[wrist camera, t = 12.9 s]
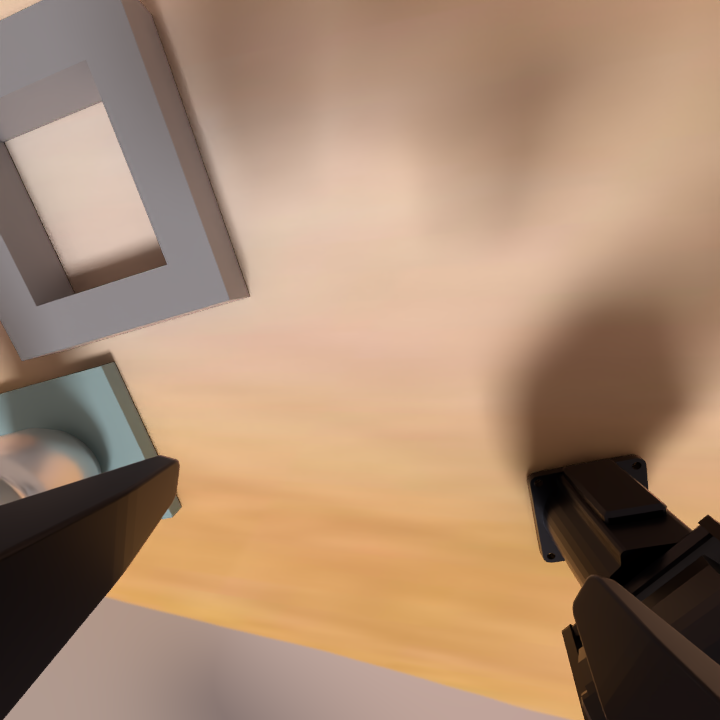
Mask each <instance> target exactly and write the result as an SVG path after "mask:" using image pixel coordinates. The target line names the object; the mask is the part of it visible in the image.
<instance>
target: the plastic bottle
mask: <svg viewBox="0 0 720 720" xmlns="http://www.w3.org/2000/svg"><path fill="white" fill-rule="evenodd" d="M98 474H101V468H100V465H99V462H98V460H97V458H96V457H95V455H94V454H93V452H92V451H91V450H90V449H89V448H88V446H87V445H85V444H84V443H83V442H82V441H81V440H79V439H78V438H76V437H75V436H73V435H71V434H68V433H66V432H63V431H59V430H52V429H41V428H31V429H25V430H21V431H17V432H13V433H10V434H6V435H2V436H0V505H3V504H6V503H9V502H12V501H16V500H19V499H22V498H25V497H28V496H31V495H35V494H38V493H41V492H44V491H47V490H50V489H54V488H57V487H60V486H63V485H66V484H69V483H73V482H76V481H79V480H82V479H85V478H88V477H92V476H95V475H98Z"/></svg>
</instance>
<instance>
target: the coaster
mask: <svg viewBox="0 0 720 720" xmlns="http://www.w3.org/2000/svg"><path fill="white" fill-rule="evenodd" d="M31 428H41V429H52V430H59V431H63V432H66V433H68V434H71V435H73V436H75V437H76V438H78V439H79V440H81V441H82V442H83V443H84V444H85V445H87V446H88V448H89V449H90V450H91V451H92V452H93V454H94V455H95V457H96V458H97V460H98V462H99V465H100V468H101V473H104V472H107V471H110V470H114V469H117V468H120V467H123V466H126V465H129V464H133V463H136V462H139V461H142V460H145V459H148V458H152V457H155V456H158V455H157V453H156V451H155V449H154V447H153V444H152V442H151V440H150V438H149V436H148V434H147V431H146V429H145V427H144V425H143V423H142V421H141V419H140V416H139V414H138V412H137V410H136V408H135V406H134V403H133V401H132V399H131V397H130V395H129V393H128V391H127V388H126V386H125V384H124V382H123V380H122V378H121V375H120V373H119V371H118V369H117V367H116V365H115V362H112V363H108V364H105V365H101V366H98V367H94V368H91V369H87V370H83V371H80V372H76V373H73V374H69V375H66V376H62V377H58V378H55V379H51V380H48V381H44V382H41V383H37V384H33V385H30V386H26V387H23V388H19V389H15V390H12V391H8V392H5V393H1V394H0V436H2V435H6V434H10V433H13V432H17V431H21V430H25V429H31ZM180 508H181V505H180V503H179V500H178V498H177V496H175V498H174V500H173V502H172V504H171V505H170V507H169V508H168V510H167V511H166V513H165V514H164V516H163V517H162V519H166V518H171V517H173V516H174V515H175V514H176V513H177V512H178V511H179V509H180Z"/></svg>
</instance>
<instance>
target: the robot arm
mask: <svg viewBox="0 0 720 720" xmlns="http://www.w3.org/2000/svg"><path fill="white" fill-rule="evenodd" d="M635 462H636V464H635V465H633V464H634V463H635ZM632 465H633V466H632ZM179 468H180V464H179V461H178V460H177V459H173V458H170V457H166V456H162V455H158V456H155V457H152V458H148V459H145V460H142V461H139V462H136V463H133V464H129V465H126V466H123V467H120V468H117V469H114V470H110V471H107V472H104V473H101V474H98V475H95V476H92V477H88V478H85V479H82V480H79V481H76V482H73V483H69V484H66V485H63V486H60V487H57V488H54V489H50V490H47V491H44V492H41V493H38V494H35V495H31V496H28V497H25V498H22V499H19V500H16V501H12V502H9V503H6V504H3V505H0V720H3V719H4V718H5V716H7V714H8V713H9V712H10V711H11V709H12V708H13V707H14V706H15V705H16V703H17V702H18V701H19V699H21V697H22V696H23V695H24V694H25V693H26V691H27V690H28V689H29V688H30V687H31V685H32V684H33V683H34V682H35V680H36V679H37V678H38V677H39V676H40V674H41V673H42V672H43V671H44V669H45V668H46V667H47V666H48V665H49V664H50V662H51V661H52V660H53V659H54V657H55V656H56V655H57V654H58V653H59V651H60V650H61V649H62V648H63V647H64V645H65V644H66V643H67V642H68V641H69V639H70V638H71V637H72V636H73V634H74V633H75V632H76V631H77V630H78V628H79V627H80V626H81V625H82V623H83V622H84V621H85V620H86V619H87V618H88V616H89V614H91V613H92V611H93V610H94V609H95V608H96V607H97V605H98V604H99V603H100V602H101V601H102V599H103V598H104V597H105V596H106V594H107V593H108V592H109V591H110V590H111V588H112V587H113V586H114V585H115V583H116V582H117V581H118V580H119V578H120V577H121V576H122V575H123V573H124V572H125V571H126V569H127V568H128V566H129V565H130V564H131V562H132V561H133V559H134V558H135V556H136V555H137V553H138V552H139V551H140V549H141V548H142V546H143V545H144V543H145V542H146V540H147V539H148V537H149V536H150V535H151V533H152V532H153V530H154V529H155V527H156V526H157V524H158V523H159V521H160V520H161V519H162V517H163V516H164V514H165V513H166V511H167V510H168V508H169V507H170V505H171V504H172V502H173V500H174V498H175V496H176V492H177V485H178V476H179ZM536 480H540V481H539V482H538V483H535V481H536ZM528 486H529V492H530V498H531V503H532V509H533V514H534V520H535V525H536V531H537V537H538V542H539V548H540V553H541V555H542V557H543V559H544V560H545V561H546V562H559V561H566V563H567V564H568V566H569V568H570V569H571V571H572V572H573V574H574V576H575V577H576V579H577V580H578V582H579V584H580V585H581V587H582V588H581V589H580V591H579V593H578V595H577V596H576V598H575V600H574V602H573V615H574V619H575V622H576V623H575V624H574V625H571V624H570V625H569V626H567V627H566V628H565V629H564V630H562V635H563V638H564V642H565V646H566V650H567V654H568V658H569V662H570V666H571V669H572V673H573V677H574V681H575V685H576V689H577V693H578V697H579V700H580V704H581V708H582V712H583V716H584V719H585V720H720V523H719V522H718V521H716V520H715V519H713V518H712V517H711V516H709V515H707V516H705V517H704V518H703V519H702V520H700V521H699V522H698V523H699V524H700V525H699V526H698V527H697V528H695V529H694V530H691V529H690V528H689V527H688V526H687V525H685V524H684V523H683V522H682V521H681V520H680V519H678V518H677V517H676V516H675V515H674V514H672V513H671V512H670V511H669V510H668V509H667V506H666V505H665V504H664V503H663V502H662V501H661V500H659V499H658V498H657V497H656V496H655V495H653V494H652V493H651V492H650V491H649V490H648V480H647V468H646V462H645V461H644V460H643V459H642V458H640V457H639V456H637V455H627V456H621V457H616V458H611V459H603V460H598V461H592V462H587V463H581V464H576V465H570V466H566V467H561V468H556V469H551V470H545V471H540V472H534V473H532V474H530V475H529V477H528ZM549 553H551V554H549Z"/></svg>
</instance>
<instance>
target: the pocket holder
mask: <svg viewBox="0 0 720 720" xmlns="http://www.w3.org/2000/svg"><path fill="white" fill-rule="evenodd" d="M101 101H102V102H103V104H104V107H105V109H106V112H107V114H108V117H109V119H110V122H111V124H112V127H113V129H114V132H115V134H116V137H117V139H118V142H119V144H120V147H121V149H122V152H123V154H124V157H125V159H126V162H127V164H128V167H129V169H130V172H131V175H132V177H133V180H134V182H135V185H136V187H137V190H138V192H139V195H140V197H141V200H142V202H143V205H144V207H145V210H146V212H147V215H148V217H149V220H150V222H151V225H152V227H153V230H154V232H155V235H156V237H157V240H158V242H159V245H160V248H161V250H162V253H163V255H164V258H165V260H166V263H167V265H164V266H161V267H158V268H155V269H152V270H148V271H145V272H142V273H139V274H136V275H133V276H130V277H127V278H124V279H120V280H117V281H114V282H111V283H108V284H105V285H102V286H99V287H96V288H92V289H89V290H86V291H83V292H80V293H77V294H75V293H74V291H73V289H72V287H71V285H70V283H69V281H68V278H67V276H66V274H65V272H64V270H63V268H62V266H61V264H60V261H59V259H58V257H57V255H56V253H55V251H54V249H53V246H52V244H51V242H50V240H49V238H48V236H47V234H46V232H45V229H44V227H43V225H42V223H41V221H40V219H39V217H38V215H37V212H36V210H35V208H34V206H33V204H32V202H31V200H30V197H29V195H28V193H27V191H26V189H25V187H24V185H23V183H22V180H21V178H20V176H19V174H18V172H17V170H16V168H15V166H14V163H13V161H12V159H11V157H10V155H9V153H8V151H7V148H6V146H5V144H4V142H5V141H8V140H10V139H12V138H15V137H17V136H20V135H22V134H24V133H27V132H29V131H32V130H34V129H36V128H39V127H41V126H44V125H46V124H48V123H51V122H53V121H56V120H58V119H60V118H63V117H65V116H68V115H70V114H72V113H75V112H77V111H80V110H82V109H84V108H87V107H89V106H92V105H94V104H96V103H99V102H101ZM247 297H250V296H249V293H248V290H247V287H246V284H245V281H244V278H243V275H242V273H241V270H240V267H239V264H238V261H237V258H236V255H235V253H234V250H233V247H232V244H231V241H230V238H229V235H228V232H227V230H226V227H225V224H224V221H223V218H222V215H221V212H220V210H219V207H218V204H217V201H216V198H215V195H214V192H213V189H212V187H211V184H210V181H209V178H208V175H207V172H206V169H205V167H204V164H203V161H202V158H201V155H200V152H199V149H198V146H197V144H196V141H195V138H194V135H193V132H192V129H191V126H190V124H189V121H188V118H187V115H186V112H185V109H184V106H183V103H182V101H181V98H180V95H179V92H178V89H177V86H176V83H175V81H174V78H173V75H172V72H171V69H170V66H169V63H168V60H167V58H166V55H165V52H164V49H163V46H162V43H161V40H160V38H159V35H158V32H157V29H156V26H155V23H154V20H153V17H152V15H151V13H150V12H149V11H148V10H147V9H146V8H145V7H144V5H143V4H142V3H141V2H140V1H139V0H42V1H40V2H38V3H36V4H34V5H32V6H30V7H27V8H25V9H23V10H21V11H19V12H17V13H15V14H13V15H11V16H9V17H7V18H5V19H3V20H1V21H0V321H1V323H2V325H3V326H4V328H5V330H6V332H7V334H8V336H9V338H10V340H11V341H12V343H13V345H14V347H15V349H16V351H17V353H18V355H19V357H20V358H21V360H22V361H25V360H29V359H33V358H37V357H41V356H45V355H50V354H54V353H58V352H62V351H66V350H69V349H73V348H76V347H80V346H83V345H86V344H90V343H93V342H97V341H100V340H103V339H107V338H110V337H114V336H117V335H121V334H124V333H127V332H131V331H134V330H138V329H141V328H144V327H148V326H151V325H155V324H158V323H162V322H165V321H168V320H172V319H175V318H179V317H182V316H185V315H189V314H192V313H196V312H199V311H203V310H206V309H209V308H213V307H216V306H220V305H223V304H226V303H230V302H233V301H237V300H240V299H244V298H247Z"/></svg>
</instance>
